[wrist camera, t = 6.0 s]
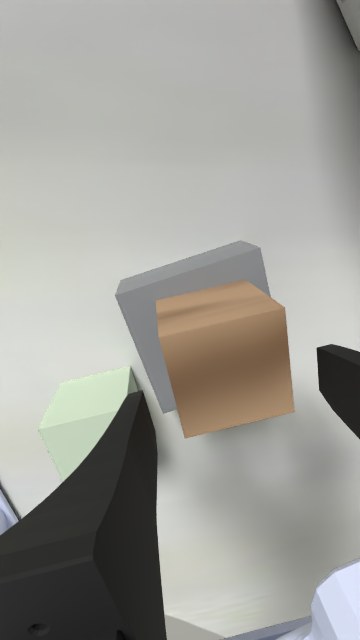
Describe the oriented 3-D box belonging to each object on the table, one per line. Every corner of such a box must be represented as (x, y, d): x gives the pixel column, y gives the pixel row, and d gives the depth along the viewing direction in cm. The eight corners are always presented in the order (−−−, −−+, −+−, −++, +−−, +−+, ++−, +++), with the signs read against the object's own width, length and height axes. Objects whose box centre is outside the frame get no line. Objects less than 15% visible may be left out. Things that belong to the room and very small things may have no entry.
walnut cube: (256, 359, 18) (294, 412, 14) (175, 379, 18) (184, 438, 13) (245, 279, 16) (284, 307, 12) (155, 300, 16) (158, 337, 12)
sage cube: (147, 420, 23) (147, 473, 19) (83, 436, 23) (68, 493, 19) (130, 365, 22) (125, 408, 17) (61, 381, 22) (37, 429, 17)
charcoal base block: (263, 346, 22) (286, 373, 19) (160, 379, 23) (163, 413, 19) (238, 240, 20) (260, 247, 16) (121, 279, 20) (115, 295, 16)
